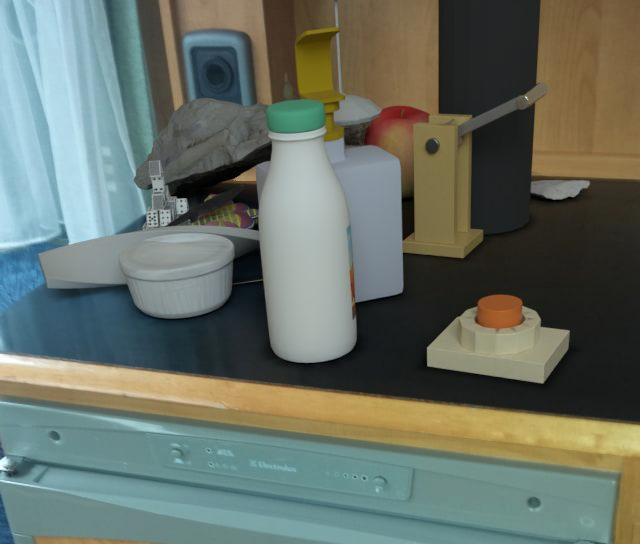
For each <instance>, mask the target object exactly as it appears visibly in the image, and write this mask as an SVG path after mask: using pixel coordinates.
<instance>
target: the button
mask: <svg viewBox="0 0 640 544" xmlns="http://www.w3.org/2000/svg"><path fill="white" fill-rule="evenodd" d="M477 306H478V313H477V323H478V325H481V326H483V327H487V328H495V329H503V328H512V327H515V326H518V325H521V322H522V306H523V301H522V299H521V298H519V297H517V296H514V295H510V294H491V295H487V296H484V297H482V298H480V299H479V300H478V301H477Z"/></svg>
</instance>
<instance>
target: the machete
mask: <svg viewBox="0 0 640 544" xmlns="http://www.w3.org/2000/svg"><path fill="white" fill-rule="evenodd" d="M244 187H245V185H239V186H235V187H233V188H230V189H227V190H225V191H223V192H221V193H218V195H216V196H214V197H212V198H210V199H208V200H207V201H205V200H204V201H205V202H204V201H203V202H201V203H199V204H198V205H196V206H194V207H193V208H191V209H189V211H188V212H186V213H184V214H183V215H181V216H180V217H178V218H177V219H175V220H174V221H172V222H171V223H169V224H168V225H166V226H165V227H169V226H177V225H179V224H181V223H183V222H185V221H187V220H189V219H190V220H191V219H194V218H196V217H197V218H198V216H200V215H203V214H206V213H209V212H211V211H214V210H216V209H218V208H220V207H221V206H223V205H225V204H226V203H228V202H229V201H230V200H232V201H233V200H234V199H235V198H236V197H238V195H239V194H240V193H241V191H242V190H243V189H244Z"/></svg>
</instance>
